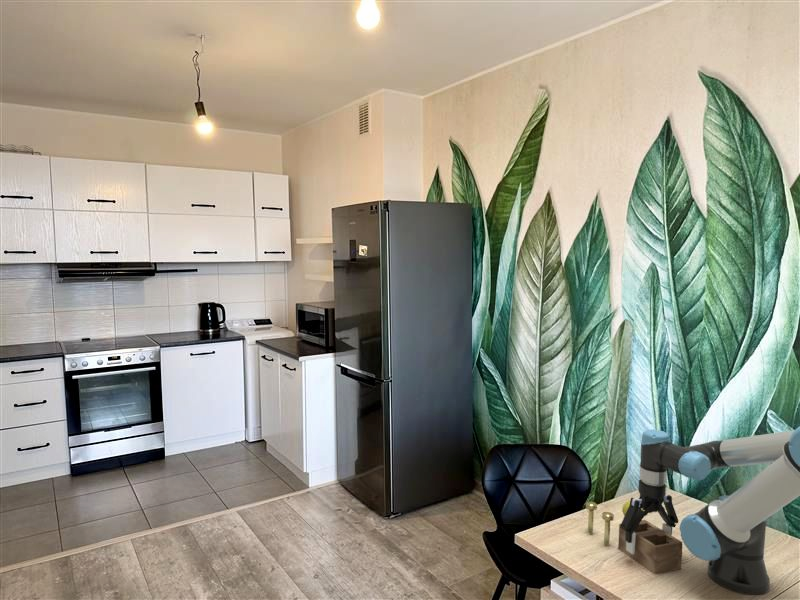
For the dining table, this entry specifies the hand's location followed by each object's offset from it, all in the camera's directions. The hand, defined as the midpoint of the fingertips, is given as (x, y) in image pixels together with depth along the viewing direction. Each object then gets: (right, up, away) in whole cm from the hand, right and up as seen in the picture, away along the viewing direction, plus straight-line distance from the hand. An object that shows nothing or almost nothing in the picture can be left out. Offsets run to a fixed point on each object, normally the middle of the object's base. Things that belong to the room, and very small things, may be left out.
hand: (648, 548), depth 170 cm
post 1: (-13, -2, +15) cm, 20 cm away
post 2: (-10, -2, +7) cm, 13 cm away
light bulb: (+2, -2, +18) cm, 18 cm away
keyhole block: (0, -3, 0) cm, 3 cm away
